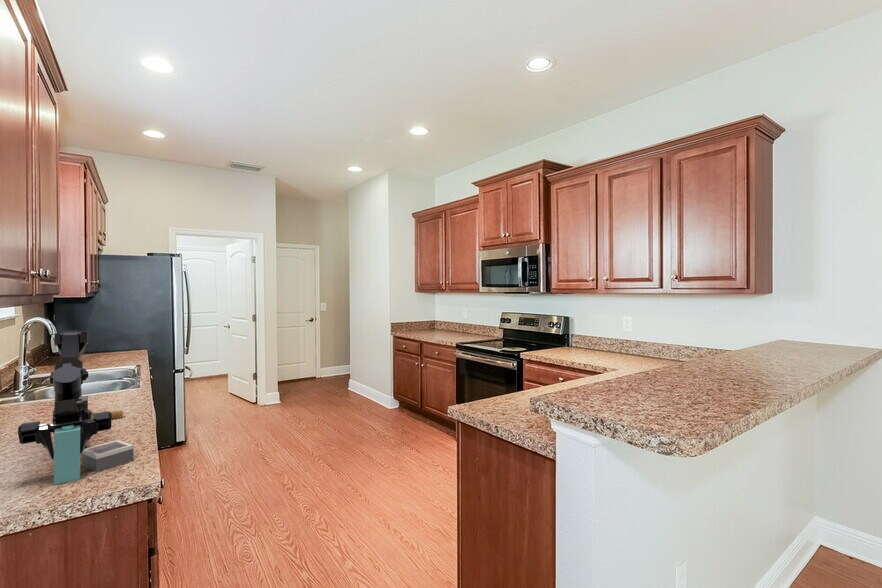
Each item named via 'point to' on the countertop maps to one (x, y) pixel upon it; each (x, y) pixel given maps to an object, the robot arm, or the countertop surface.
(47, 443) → the robot arm
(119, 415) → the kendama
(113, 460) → the tower base
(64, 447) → the tall brick
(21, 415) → the countertop surface
